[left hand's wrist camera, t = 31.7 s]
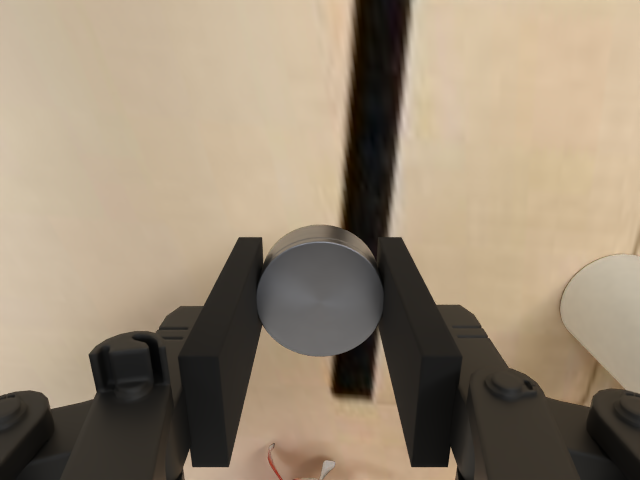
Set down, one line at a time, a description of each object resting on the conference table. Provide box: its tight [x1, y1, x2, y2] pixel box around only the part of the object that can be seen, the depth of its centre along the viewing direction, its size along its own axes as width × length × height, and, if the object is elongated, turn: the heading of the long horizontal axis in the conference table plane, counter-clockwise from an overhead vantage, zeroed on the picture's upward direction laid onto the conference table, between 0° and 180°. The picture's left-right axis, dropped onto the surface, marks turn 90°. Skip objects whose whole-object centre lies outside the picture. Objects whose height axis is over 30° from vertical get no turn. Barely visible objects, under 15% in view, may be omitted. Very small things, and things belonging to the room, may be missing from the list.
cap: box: [256, 225, 384, 356], centre depth 14 cm, size 4×4×2 cm
